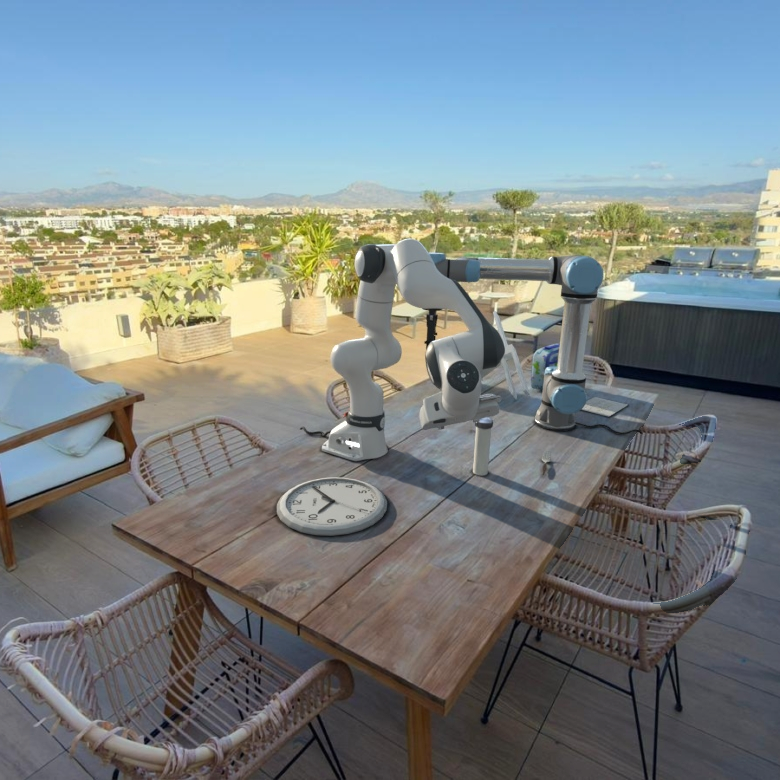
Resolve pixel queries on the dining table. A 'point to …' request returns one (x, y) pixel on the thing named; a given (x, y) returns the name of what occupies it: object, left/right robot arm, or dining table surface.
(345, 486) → the wall clock
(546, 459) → the fork
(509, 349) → the white plastic object
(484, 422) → the lid
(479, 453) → the off-white tall cylinder
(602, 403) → the invitation card
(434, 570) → the dining table surface
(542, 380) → the lunch box
